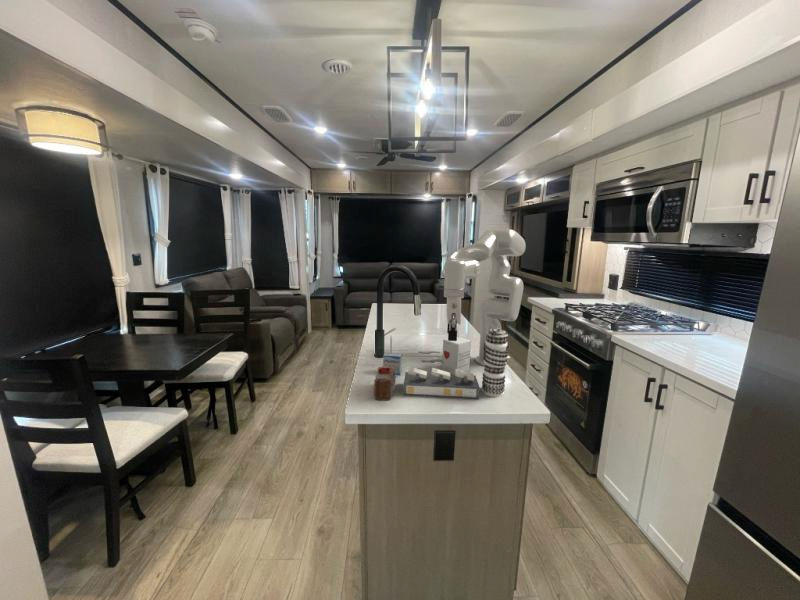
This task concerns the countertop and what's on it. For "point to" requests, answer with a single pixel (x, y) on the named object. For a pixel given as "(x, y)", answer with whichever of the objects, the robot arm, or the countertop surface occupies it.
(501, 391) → the decorative candle
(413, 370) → the rocker
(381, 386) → the food item
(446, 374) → the rocker
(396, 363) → the medicine box
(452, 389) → the switch unit
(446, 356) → the supplement box
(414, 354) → the countertop surface
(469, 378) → the rocker
